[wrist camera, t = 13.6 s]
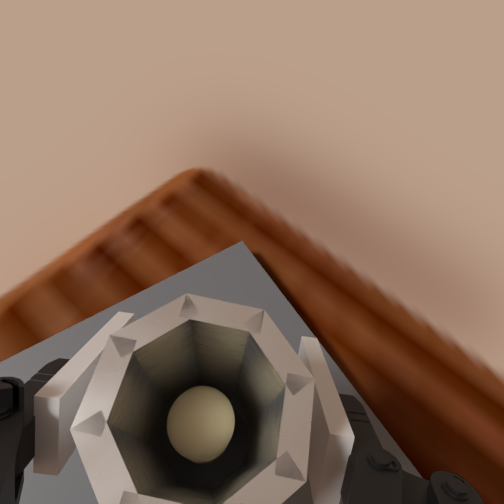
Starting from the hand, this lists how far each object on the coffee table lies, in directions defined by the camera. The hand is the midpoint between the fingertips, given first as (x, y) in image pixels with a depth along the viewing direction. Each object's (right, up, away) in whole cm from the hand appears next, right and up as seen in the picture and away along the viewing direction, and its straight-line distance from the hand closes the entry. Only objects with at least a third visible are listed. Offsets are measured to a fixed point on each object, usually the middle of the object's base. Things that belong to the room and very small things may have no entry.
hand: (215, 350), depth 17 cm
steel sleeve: (-1, -6, +2) cm, 6 cm away
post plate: (-1, -6, +4) cm, 7 cm away
